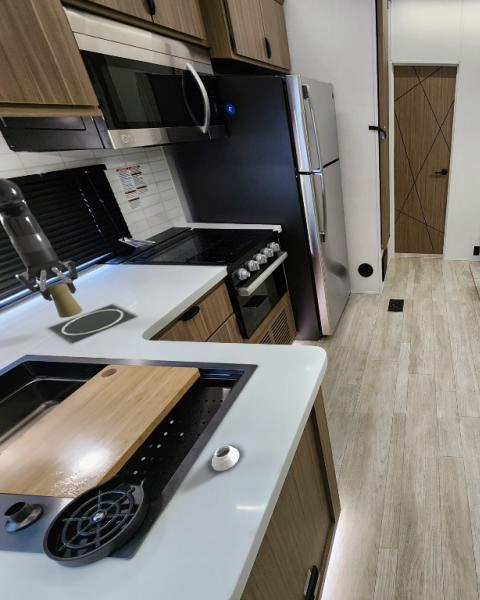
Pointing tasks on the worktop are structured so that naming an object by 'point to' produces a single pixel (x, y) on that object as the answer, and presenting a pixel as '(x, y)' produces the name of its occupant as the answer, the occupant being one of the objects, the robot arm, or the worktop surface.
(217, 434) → the worktop surface
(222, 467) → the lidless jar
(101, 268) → the worktop surface
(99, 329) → the slate board
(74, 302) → the cork
